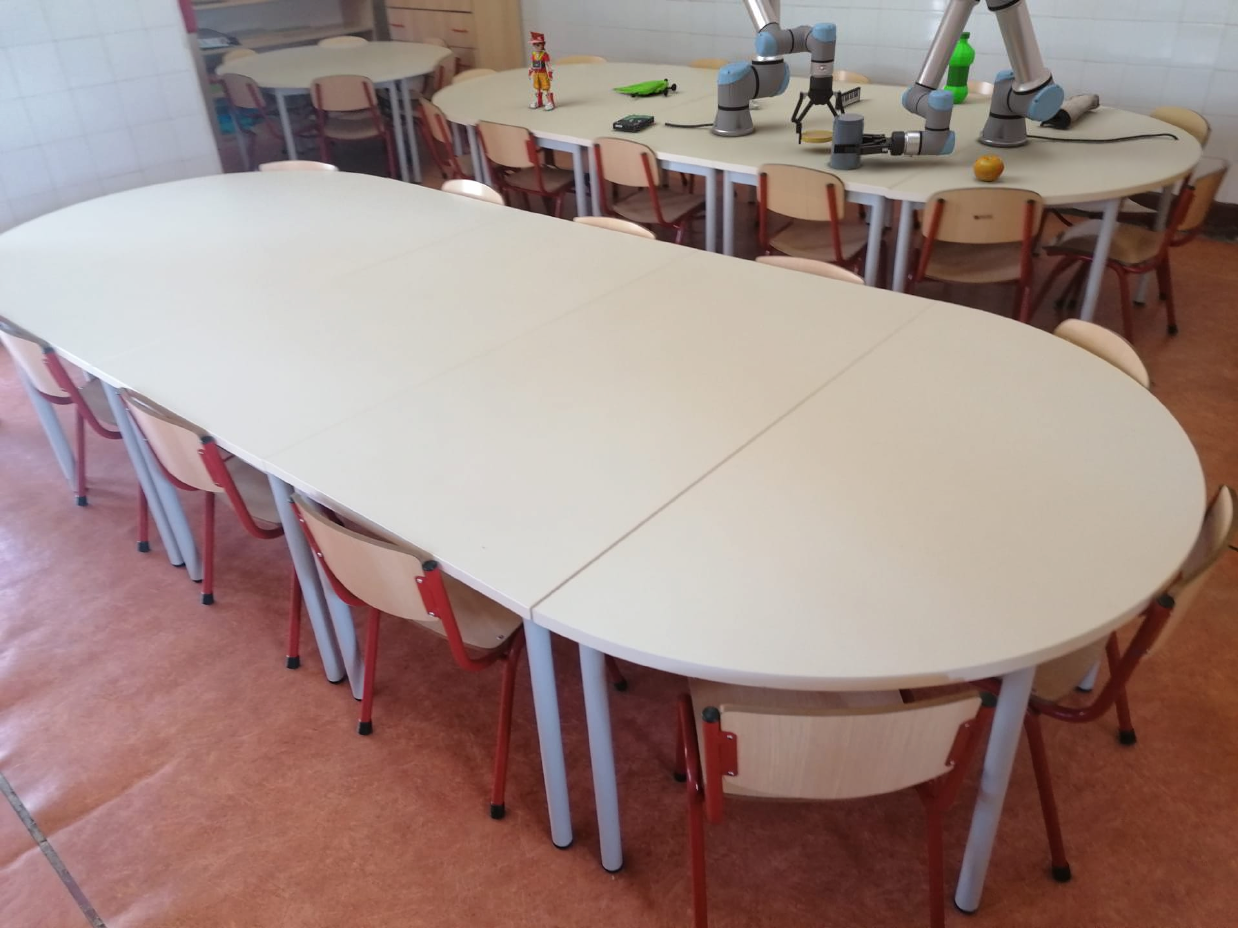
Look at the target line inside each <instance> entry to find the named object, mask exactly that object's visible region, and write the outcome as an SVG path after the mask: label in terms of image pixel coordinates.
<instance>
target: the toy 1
mask: <svg viewBox="0 0 1238 928" xmlns="http://www.w3.org/2000/svg"><path fill="white" fill-rule="evenodd" d="M529 33H530V35H531V36H528V37H527V38H528V39H529V40H528V41H527V43H529V44H530V43H531V44H532V48H533V50H534V51H533V52H532V55H531V58H530V59H531V63H530V66H528V74H527V75H528V76H527V77H528V79H529V80H531V75H532V74H533V84H532V85H533V86H532V87H533V88H534V89H535V90H536V92H534V95H535V97H536V100H535V101H533V102H531V105H530V108H531V109H535V108H538V107H542V106H544V101H543V100H544V99H543V95H544V92H546V94H545V97H546V99H547V103H546V104H545V106H544V110H546V111H549V110H553V109H554V107H555V106H556V105H555V99H554V92H551V91H550V90H551V86H552V84H551V82H552V81H553V80H554V77H553V73H554V71H555V70H554V69H552V68H551V63H550V61H551V59H550V58H551V57H550V54H549V53H548V52H547V50H546V48H545V46H546V44H547V41H545V35H544V33H543V32H542V33H539V32H535V31H529Z"/></svg>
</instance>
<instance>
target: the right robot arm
mask: <svg viewBox="0 0 1238 928" xmlns="http://www.w3.org/2000/svg"><path fill="white" fill-rule="evenodd" d="M980 2H981V0H949V2H948V4H947V6H946V8H945V11H944V13H943V16H942V18H941V20H940V23H939V25H938V28H937V30H936V32H935V34H934V37H933V39H932V41H931V44H930V47H929V49H928V51H927V53H926V56H925V57H924V60H923V63H922V65H921V68H920V70H919V72H918V74H917V77H916V79H915V82H914V84H913V86H911V87H909V88H907V89H906V91H904V93H903V95H902V97H901V104H902V107H903V108H904V109H905V110H906V111H908V112H909V113H911V114H913V115H916V116H919V117H921V118H923V119H925V121H924V122H925V123H924V130H906V131H903V130H893V131H892V132H891V136H890V137H888V136H886V133H865V132H864V133H863V142H862V144H861V145H859V144H858V143H856V147H855V144H834V154H835V153H855V154H857V155H858V156H860V155H861V156H870V155H880V154H883V155H885V154H886V155H888V154H889V155H890V156H892V157H901V156H902V155H904V156H909V157H910V158H913V156H935V157H939V156H949V155H951V154H952V153H953V152H954V150H955V145H956V132H955V130H951V129H950V128H951V126H950V125H951V121H952V113H953V109H954V104H955V103H953V100H954V94H953V92H952V91H949V90H943V89H939V87H940V84H941V83H942V80H943V77H944V76H945V73H946V72H947V70H948V69H947V68H948V67H949V62H950V60H951V57H952V55H953V53H954V51H955V48H956V46H957V44H958V43H959V39H960V37H961V35H962V33H963V32H964V30H965V28H966V25H967V23H968V22H969V20H970V17H971V15H972V13H973V10H974V8H975V7H976V6H978V5H980ZM984 2H985V4H986V7H987V10H988V12H991V13H994V14H995V17H996V20H997V24H998V28H999V31H1000V34H1001V37H1002V40H1003V43H1004V46H1005V51H1006V54H1007V56H1008V60H1009V63H1010V66H1011V69H1004V70H1000V71H998V72H997V73H996V75H995V78H994V82H993V89H992V95H991V101H990V107H989V112H988V118H987V120H986V122H985V123H984V126H983V128H982V130H980V131H979V135H978V136H979V138H978V141H979V142H980V143H981V144H983V145H986V146H990V147H996V148H1015V147H1020V146H1023V145H1025V144H1026V143H1027V140H1028V138H1030V139H1039V140H1047V141H1056V142H1078V143H1079V142H1081V143H1107V142H1109V143H1110V142H1117V141H1124V140H1132V139H1140V138H1156V137H1157V138H1158V137H1171V138H1173V139H1174V140H1175V141H1179V140H1180V139H1179V138H1178V136H1176V135H1174V134H1173V133H1167V132H1165V133H1152V134H1150V133H1149V134H1138V135H1132V136H1131V135H1130V136H1123V137H1116V138H1108V139H1107V138H1105V139H1087V138H1061V137H1060V138H1059V137H1049V136H1042V135H1032V134H1028V133H1027V122H1026V119H1028V120H1030V121H1031V122H1043V121H1046V120H1048V119H1050V118H1052V117H1053V116H1054V115H1055V114H1056V113H1057V112H1058V111H1059V109H1060V106H1061V105H1062V104H1063V103H1064V102H1065V101H1064V100H1065V91H1064V89H1063V87H1062V86H1061V85H1060V84H1058V83H1055V81H1054V78H1053V74H1052V71H1051V69H1050V68H1049V67H1045V66H1044V63H1043V58H1042V55H1041V52H1040V48H1039V44H1038V40H1037V37H1036V34H1035V30H1034V26H1033V23H1032V19H1031V15H1030V12H1029V9H1028V4H1027V1H1026V0H985V1H984Z"/></svg>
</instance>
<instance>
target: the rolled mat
mask: <svg viewBox="0 0 1238 928" xmlns="http://www.w3.org/2000/svg"><path fill="white" fill-rule="evenodd" d="M1100 106H1101V103H1100V97H1099V94H1096V93H1083V94H1077V95H1074V96H1071V97H1070V98H1069V100H1067V101H1064V102H1063V104H1062V105H1061V106H1060V109H1059V111H1058V112H1057V113H1056V114H1055V115H1054V116H1053V117H1052V118H1050V119H1048V120H1046V121H1043V122H1041V123H1040V124H1039V126H1040V127H1043V126H1045V125H1051V126H1052V127H1053V128H1055V129H1062V130H1065V129H1068V128H1069V127H1070V126H1071V125H1072V124H1074V122H1075V121H1076V120H1077V119H1079V117H1081V116H1082V115H1083V114H1084V113H1085V112H1087V111H1091V110H1096V109H1099V107H1100Z"/></svg>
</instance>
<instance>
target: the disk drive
mask: <svg viewBox="0 0 1238 928" xmlns="http://www.w3.org/2000/svg"><path fill="white" fill-rule="evenodd" d="M654 123H655V116H654V115H647V114H646V115H645V114H629V115H627V116H625V117H623V118H621V119H618V120H617V121H614V122H612V130H616V131H623V132H633V133H635V132H637V131H640V130H643V129H645V128H646V127H649V126H650V125H651V126H652V125H653V124H654Z"/></svg>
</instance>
